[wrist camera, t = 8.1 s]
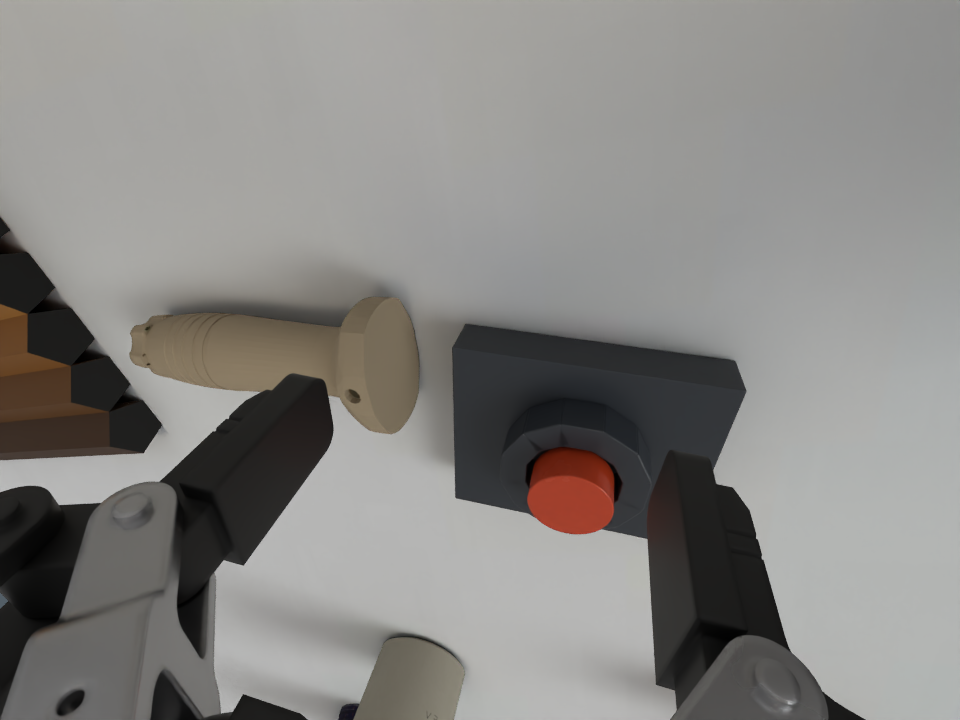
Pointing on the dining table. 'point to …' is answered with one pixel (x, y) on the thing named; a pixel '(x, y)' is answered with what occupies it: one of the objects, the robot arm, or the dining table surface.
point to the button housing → (582, 413)
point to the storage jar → (348, 712)
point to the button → (572, 491)
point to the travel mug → (412, 683)
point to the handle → (294, 356)
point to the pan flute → (57, 379)
